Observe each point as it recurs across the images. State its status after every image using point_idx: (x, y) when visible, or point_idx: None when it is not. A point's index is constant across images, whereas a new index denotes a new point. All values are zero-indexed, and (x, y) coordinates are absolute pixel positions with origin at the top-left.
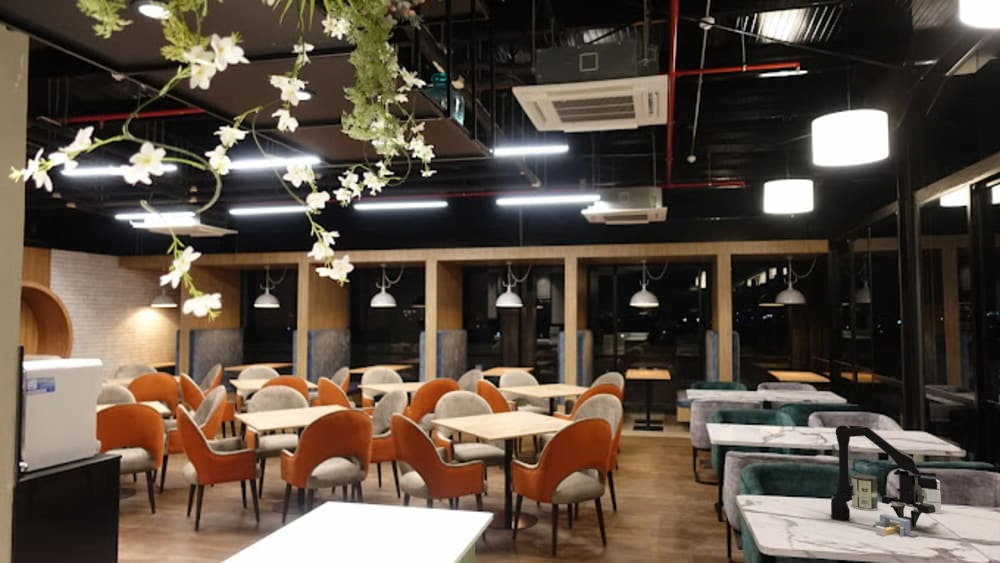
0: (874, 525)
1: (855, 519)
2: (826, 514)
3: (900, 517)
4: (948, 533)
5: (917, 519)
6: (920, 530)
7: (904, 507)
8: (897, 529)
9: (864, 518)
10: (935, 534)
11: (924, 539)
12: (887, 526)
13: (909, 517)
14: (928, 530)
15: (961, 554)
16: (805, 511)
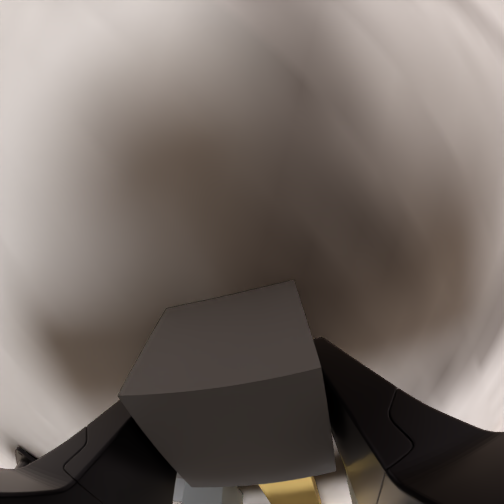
0: (174, 500)
1: (41, 450)
2: (10, 458)
3: (189, 483)
4: (494, 77)
5: (395, 398)
6: (362, 280)
7: (10, 499)
8: (316, 491)
9: (6, 401)
10: (491, 241)
11: (475, 411)
12: (233, 498)
13: (203, 403)
14: (394, 174)
15: None
16: (4, 466)
